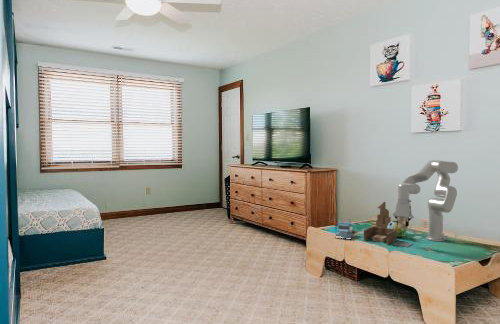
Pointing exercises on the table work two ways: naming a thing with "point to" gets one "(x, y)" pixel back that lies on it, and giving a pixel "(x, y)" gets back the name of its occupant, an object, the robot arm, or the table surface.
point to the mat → (402, 244)
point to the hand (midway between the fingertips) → (402, 225)
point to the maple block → (402, 222)
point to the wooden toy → (383, 216)
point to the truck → (344, 229)
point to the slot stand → (380, 234)
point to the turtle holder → (395, 226)
